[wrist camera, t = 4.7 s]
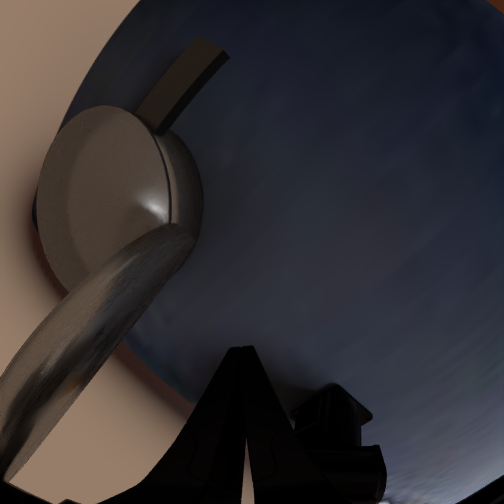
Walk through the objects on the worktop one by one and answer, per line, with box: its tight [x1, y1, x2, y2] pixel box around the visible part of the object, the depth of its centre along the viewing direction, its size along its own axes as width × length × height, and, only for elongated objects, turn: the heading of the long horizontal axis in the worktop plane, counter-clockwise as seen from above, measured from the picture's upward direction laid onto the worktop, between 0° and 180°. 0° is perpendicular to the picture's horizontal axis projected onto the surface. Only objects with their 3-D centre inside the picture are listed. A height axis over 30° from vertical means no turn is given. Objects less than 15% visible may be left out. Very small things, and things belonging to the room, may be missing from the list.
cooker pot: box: [37, 36, 230, 293], centre depth 22 cm, size 18×25×6 cm
